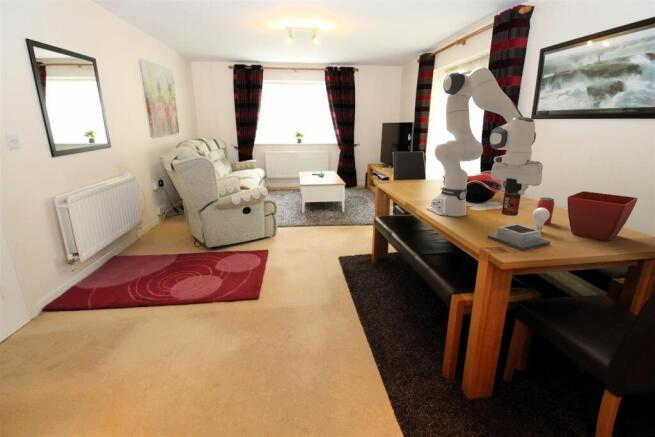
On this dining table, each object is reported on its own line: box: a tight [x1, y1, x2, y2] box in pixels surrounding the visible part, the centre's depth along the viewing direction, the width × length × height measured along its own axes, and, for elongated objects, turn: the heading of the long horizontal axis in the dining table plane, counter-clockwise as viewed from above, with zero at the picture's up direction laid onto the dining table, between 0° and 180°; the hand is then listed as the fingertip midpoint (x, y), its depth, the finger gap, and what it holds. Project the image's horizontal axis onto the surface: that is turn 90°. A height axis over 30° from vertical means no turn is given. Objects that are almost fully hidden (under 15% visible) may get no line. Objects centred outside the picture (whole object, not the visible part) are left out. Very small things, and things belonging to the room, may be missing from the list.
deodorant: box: [501, 178, 523, 217], centre depth 131 cm, size 6×6×15 cm
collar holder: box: [486, 223, 551, 252], centre depth 131 cm, size 16×16×6 cm
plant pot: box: [567, 190, 639, 242], centre depth 136 cm, size 19×19×17 cm
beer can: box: [536, 196, 555, 225], centre depth 155 cm, size 7×7×12 cm
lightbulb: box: [532, 207, 550, 232], centre depth 142 cm, size 6×6×11 cm
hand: (512, 193), depth 131 cm, fingers closed on deodorant, 6 cm apart
